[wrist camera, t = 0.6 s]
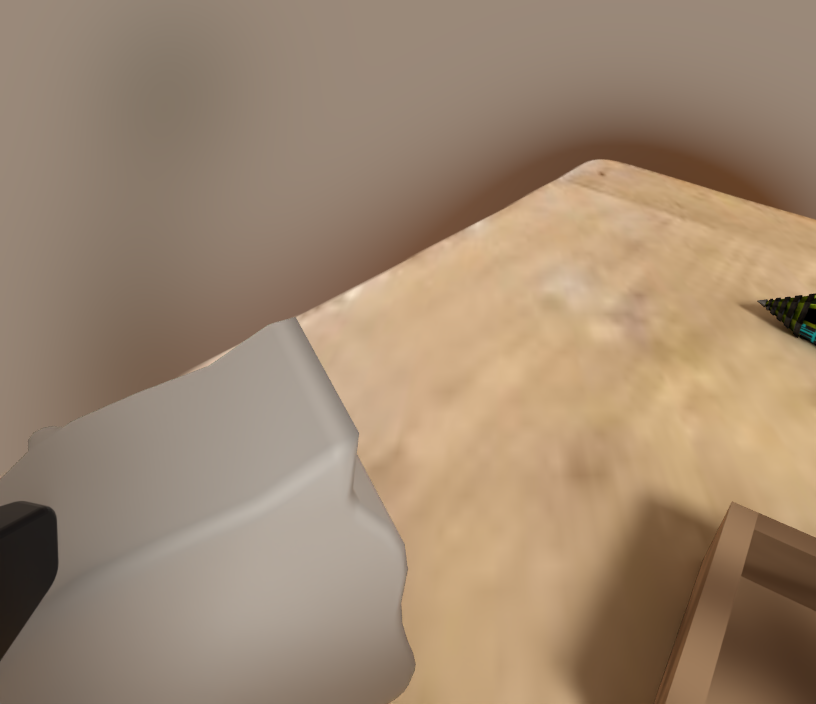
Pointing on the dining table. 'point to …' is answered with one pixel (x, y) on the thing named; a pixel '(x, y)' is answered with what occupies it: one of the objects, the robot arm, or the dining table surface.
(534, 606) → the dining table surface
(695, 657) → the square wooden tray
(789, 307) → the aircraft
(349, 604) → the pony
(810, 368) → the dining table surface
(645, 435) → the dining table surface
